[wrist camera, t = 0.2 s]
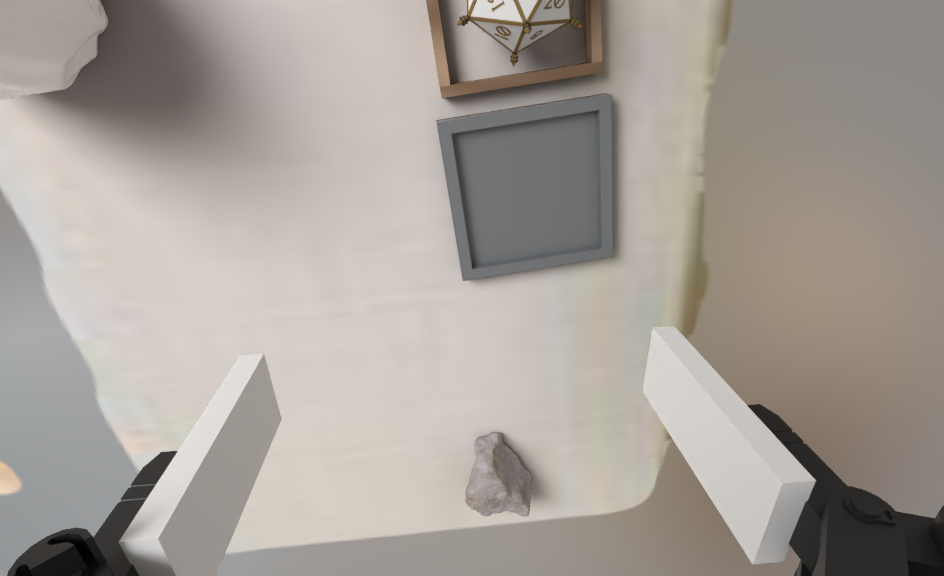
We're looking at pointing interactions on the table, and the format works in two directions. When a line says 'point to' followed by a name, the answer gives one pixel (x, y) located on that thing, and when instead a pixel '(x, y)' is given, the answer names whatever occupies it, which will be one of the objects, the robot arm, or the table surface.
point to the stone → (498, 479)
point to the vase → (46, 43)
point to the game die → (519, 20)
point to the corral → (590, 67)
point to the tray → (530, 185)
